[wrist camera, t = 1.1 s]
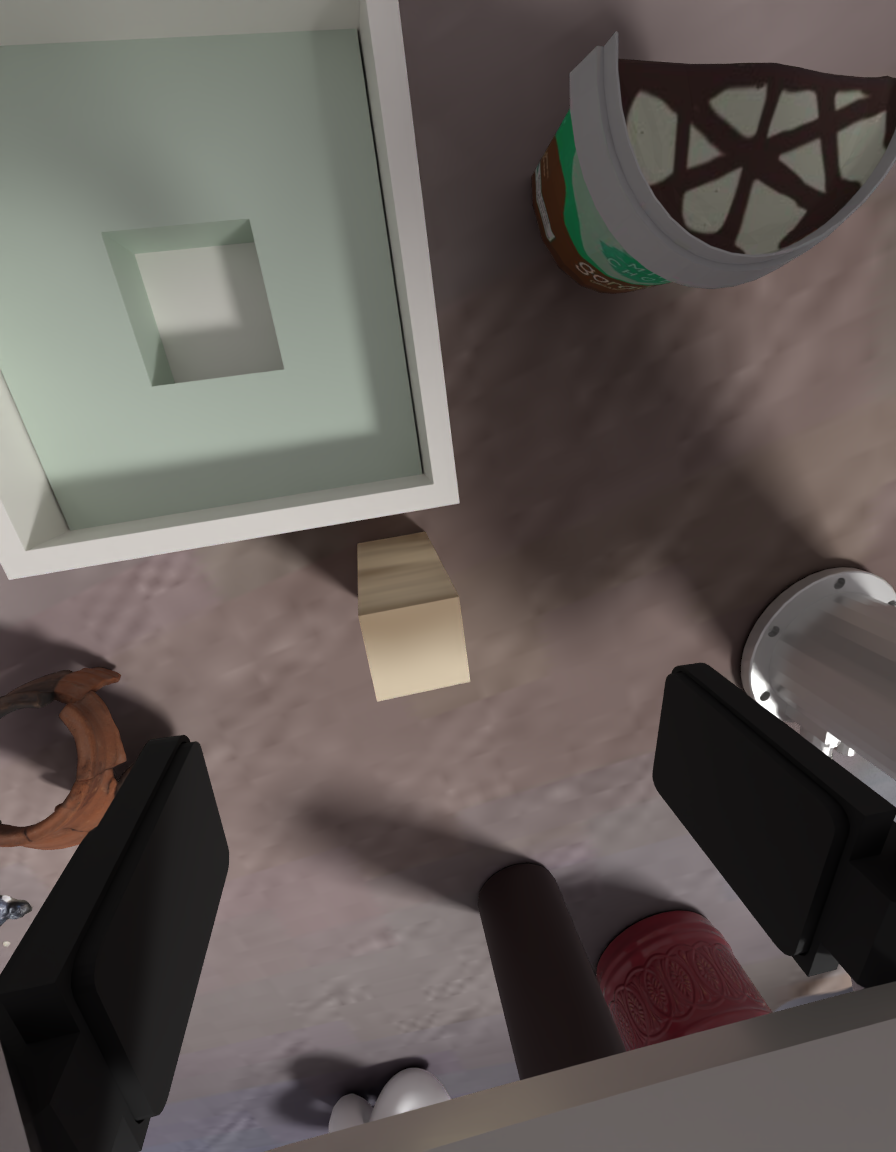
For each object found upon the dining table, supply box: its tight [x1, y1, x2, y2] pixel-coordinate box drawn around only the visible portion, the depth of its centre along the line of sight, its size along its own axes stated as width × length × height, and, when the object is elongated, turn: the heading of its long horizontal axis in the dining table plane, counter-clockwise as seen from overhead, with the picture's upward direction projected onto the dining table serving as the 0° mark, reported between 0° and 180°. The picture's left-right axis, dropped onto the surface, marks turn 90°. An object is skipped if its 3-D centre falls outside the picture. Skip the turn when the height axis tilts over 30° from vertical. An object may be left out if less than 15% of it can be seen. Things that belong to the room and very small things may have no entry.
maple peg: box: [357, 532, 470, 702], centre depth 24 cm, size 4×4×10 cm
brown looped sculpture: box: [0, 667, 134, 850], centre depth 27 cm, size 12×10×8 cm
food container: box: [531, 32, 896, 294], centre depth 21 cm, size 12×6×10 cm, turn 92°
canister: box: [596, 911, 773, 1051], centre depth 39 cm, size 13×13×18 cm
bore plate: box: [0, 29, 422, 531], centre depth 21 cm, size 16×16×3 cm
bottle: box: [478, 863, 627, 1080], centre depth 31 cm, size 7×7×20 cm
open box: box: [0, 0, 460, 580], centre depth 20 cm, size 18×18×7 cm
